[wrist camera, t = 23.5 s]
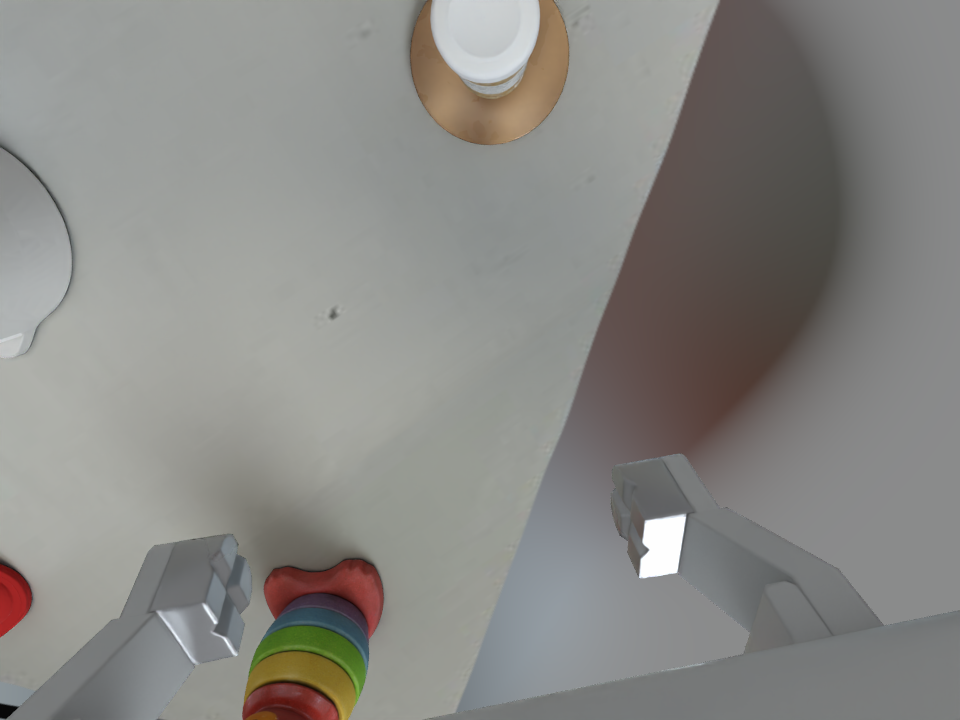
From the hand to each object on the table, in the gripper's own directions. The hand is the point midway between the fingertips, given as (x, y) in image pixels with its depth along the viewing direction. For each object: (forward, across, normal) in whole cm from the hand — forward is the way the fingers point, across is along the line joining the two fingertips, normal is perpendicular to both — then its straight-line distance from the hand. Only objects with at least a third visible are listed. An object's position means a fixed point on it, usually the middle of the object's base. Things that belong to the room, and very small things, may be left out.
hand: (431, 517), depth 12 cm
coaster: (+32, -7, -6) cm, 33 cm away
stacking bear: (+25, +13, +38) cm, 47 cm away
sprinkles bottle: (+31, -7, -6) cm, 32 cm away
